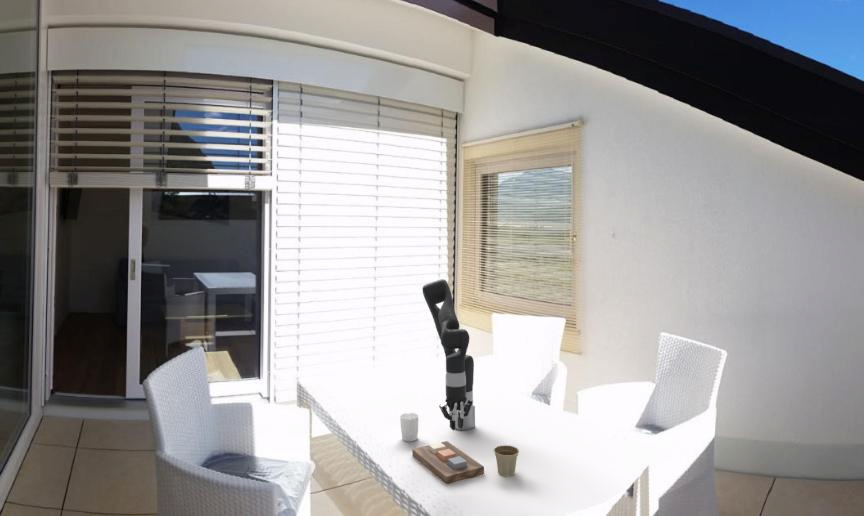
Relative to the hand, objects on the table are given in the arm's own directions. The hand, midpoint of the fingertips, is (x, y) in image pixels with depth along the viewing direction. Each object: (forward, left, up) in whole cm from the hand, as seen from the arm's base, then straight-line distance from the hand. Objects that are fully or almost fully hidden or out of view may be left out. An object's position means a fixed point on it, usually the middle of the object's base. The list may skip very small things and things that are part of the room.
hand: (456, 428), depth 209 cm
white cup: (+1, -39, -17) cm, 43 cm away
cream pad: (0, -16, -15) cm, 22 cm away
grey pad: (0, 0, -15) cm, 15 cm away
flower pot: (-16, +9, -17) cm, 25 cm away
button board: (0, -8, -17) cm, 19 cm away
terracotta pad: (0, -8, -15) cm, 17 cm away
